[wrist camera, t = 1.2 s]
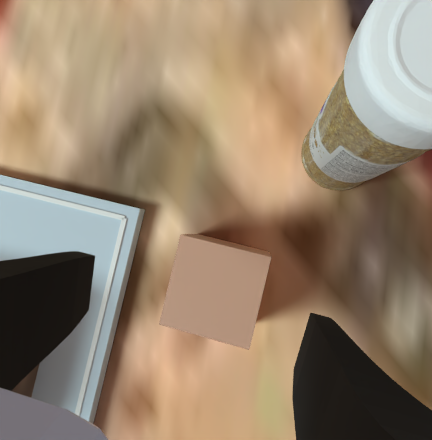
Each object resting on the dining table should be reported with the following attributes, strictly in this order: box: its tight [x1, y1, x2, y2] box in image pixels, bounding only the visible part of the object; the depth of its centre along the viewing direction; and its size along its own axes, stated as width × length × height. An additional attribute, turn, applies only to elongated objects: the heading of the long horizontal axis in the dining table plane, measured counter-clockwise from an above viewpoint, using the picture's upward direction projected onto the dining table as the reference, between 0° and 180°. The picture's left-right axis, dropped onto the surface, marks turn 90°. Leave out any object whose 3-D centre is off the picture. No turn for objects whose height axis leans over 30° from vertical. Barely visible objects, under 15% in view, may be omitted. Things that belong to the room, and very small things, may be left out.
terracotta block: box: [159, 234, 271, 350], centre depth 20 cm, size 5×5×5 cm
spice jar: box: [302, 0, 432, 191], centre depth 15 cm, size 5×5×13 cm
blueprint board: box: [0, 175, 145, 424], centre depth 24 cm, size 17×14×1 cm
